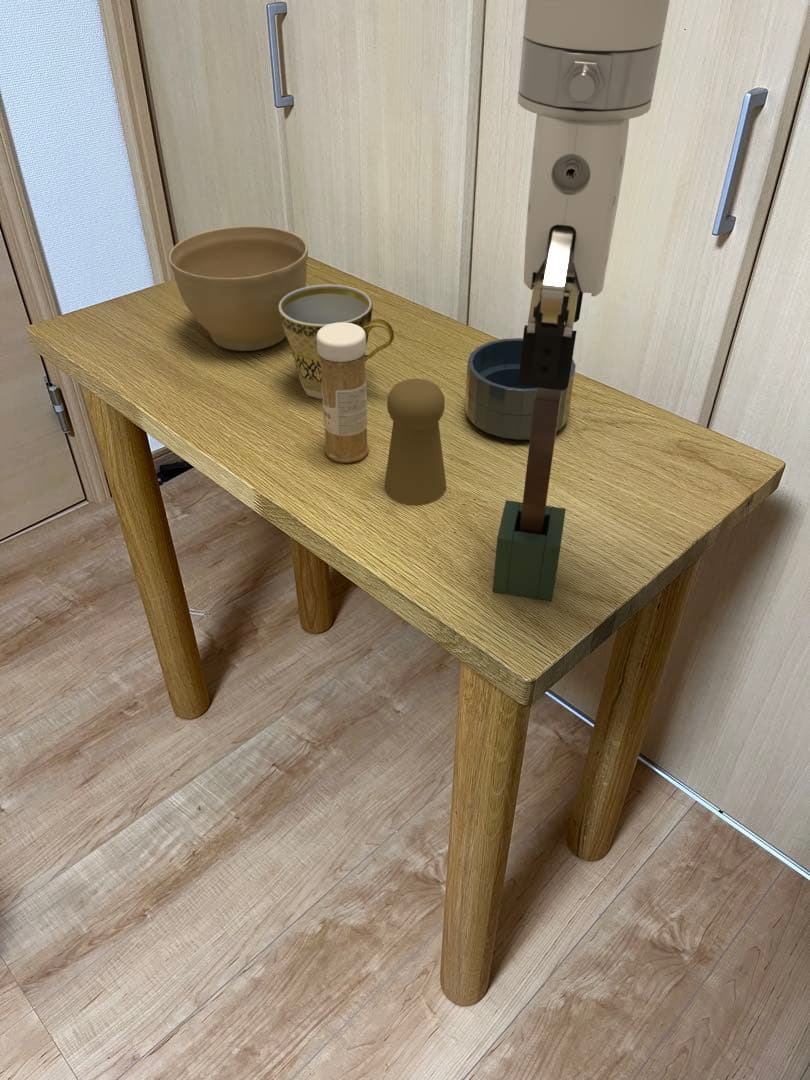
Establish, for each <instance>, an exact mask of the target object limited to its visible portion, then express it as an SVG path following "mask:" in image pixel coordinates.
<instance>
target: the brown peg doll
mask: <svg viewBox="0 0 810 1080" xmlns="http://www.w3.org/2000/svg"><path fill="white" fill-rule="evenodd" d="M445 400H446V399H445V394H444V393H443V391H442V389H441V388H440V386H439V385H438V384H436V383H435V382H434V381H431V380H428V379H423V378H408V379H404V380H402V381H398V382H397V383H396V384H394V385H393V386H392V388H391V390H390V391H389V393H388V395H387V402H386V403H387V404H386V406H387V408H386V409H387V412H388V415H389V417H390V419H391V421H393V422H392V429H391V436H390V442H389V443H390V444H389V450H388V457H387V464H386V471H385V478H384V487H383V488H384V491H385V493H386V495H387V496H388V497H390V498H391V499H392V500H394V501H396V502H398V503H400V504H405V505H409V506H410V505H411V506H413V505H414V506H421V505H425V504H426V505H427V504H431V503H433V502H435V501H438V500H439V499H440V498H441V497H442V496H444V494H445V492H446V490H447V482H446V473H445V472H446V471H445V465H444V456H443V447H442V439H441V432H440V424H439V421H440V420H441V418H442V417H443V414H444V412H445V405H446V404H445V403H446V401H445Z"/></svg>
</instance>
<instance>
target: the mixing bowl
mask: <svg viewBox="0 0 810 1080" xmlns="http://www.w3.org/2000/svg"><path fill="white" fill-rule="evenodd" d="M522 343H523V337H522V338H521V337H518V338H517V337H515V338H501V339H496V340H492V341H488V342H485V343H483V344H482V345H479V346H477V347H476V348H475V349H474V350H472V351H471V353H469V357H468V360H467V366H466V384H465V385H466V386H465V403H464V404H465V407H464V409H465V413H466V416H467V418H468V420H469V421H470V422H471V423H472V424H473V425H474V426H475V427H477V428H478V429H480V430H482V431H483V432H485V433H488V434H490V435H493V436H496V437H499V438H502V439H507V440H512V441H513V440H514V441H525V440H526V441H527V440H528V441H529V440H530V434H531V425H532V417H533V408H534V399H535V395H536V390H537V387H529V386H523V385H521V384H520V383H519V371H520V362H521V353H522ZM576 367H577V366H576V363H575V361H574V359H573V358H572V364H571V371H570V377H569V384H568V388H567V389H565V390H562V393H561V401H560V408H559V415H558V423H557V430H556V432H557V431H560V430H561V429H562V428H563V427H564V426H565V425H566V424H567V422H568V421H569V414H570V407H571V401H572V395H573V394H572V393H573V386H574V380H575V373H576Z"/></svg>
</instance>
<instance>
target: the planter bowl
mask: <svg viewBox="0 0 810 1080" xmlns="http://www.w3.org/2000/svg"><path fill="white" fill-rule="evenodd" d="M308 255H309V247H308V244H307V242H306V240H305V239H304V238H303V237H302V236H300V235H299V234H297V233H294V232H292V231H290V230H286V229H283V228H278V227H273V226H262V225H240V226H228V227H222V228H221V227H220V228H215V229H211V230H207V231H203V232H199V233H197V234H196V233H195V234H194V235H191V236H189V237H186V238H184V239H182V240H181V241H180V242H178V243H176V244H175V245H174V246H173V247H172V248H171V249H170V252H169V254H168V261H169V266H170V268H171V271H172V273H173V275H174V279H175V282H176V287H177V289H178V291H179V295H180V297H181V299H182V300H183V302H184V304H185V306H186V307H187V309H188V311H189V312H190V314H191V315H192V316H193V318H194V319H195V320H196V321H197V322H198V324H200V326H202V328H204V329H205V330H206V331H207V332H208V333H209V335H210V339H211V340H212V342H213V343H215V345H217V346H219V347H221V348H223V349H226V350H230V351H237V352H248V351H258V350H263V349H267V348H270V347H273V346H275V345H277V344H279V343H280V342H282V341H283V340H284V339H285V338H287V336H286V334H285V331H284V327H283V324H282V320H281V316H280V312H279V303H280V301H281V300H282V298H283V297H285V296H286V295H287V294H289V293H290V292H292V291H295V290H297V289H300V288H303V287H306V285H307V276H308V275H307V274H308V270H307V269H308V265H307V264H308V263H307V261H308V257H309V256H308Z"/></svg>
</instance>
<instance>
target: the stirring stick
mask: <svg viewBox="0 0 810 1080" xmlns="http://www.w3.org/2000/svg"><path fill="white" fill-rule="evenodd" d="M561 393H562V390H554V389H545V388H537V390H536V395H535V399H534V408H533V417H532V425H531V434H530V439H529V445H528V453H527V462H526V470H525V478H524V479H525V480H524V489H523V497H522V502H523V505H522V514H521V522H520V531H519V532H526V533H533V534H540V535H542V532H543V525H544V518H545V510H546V506H547V503H548V502H547V501H548V495H549V488H550V480H551V472H552V466H553V458H554V453H555V452H554V451H555V443H556V438H557V437H556V436H557V431H558V430H557V423H558V415H559V408H560V401H561ZM556 430H557V431H556Z"/></svg>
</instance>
